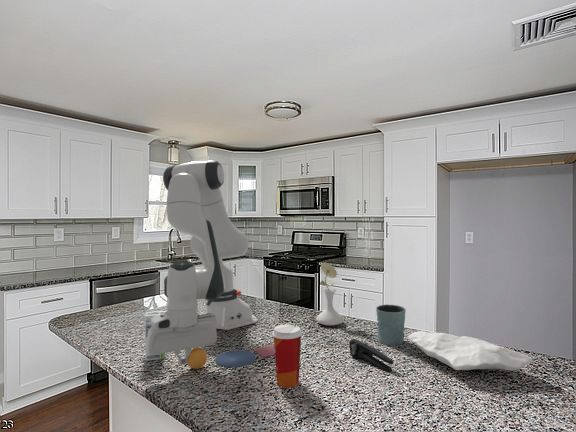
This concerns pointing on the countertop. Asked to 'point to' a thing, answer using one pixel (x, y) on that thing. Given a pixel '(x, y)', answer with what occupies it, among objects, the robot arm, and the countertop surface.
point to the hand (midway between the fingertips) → (183, 363)
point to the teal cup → (391, 324)
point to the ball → (197, 358)
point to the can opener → (369, 354)
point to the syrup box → (147, 327)
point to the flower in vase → (329, 300)
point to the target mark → (235, 358)
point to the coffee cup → (287, 354)
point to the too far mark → (265, 351)
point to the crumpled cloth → (468, 352)
